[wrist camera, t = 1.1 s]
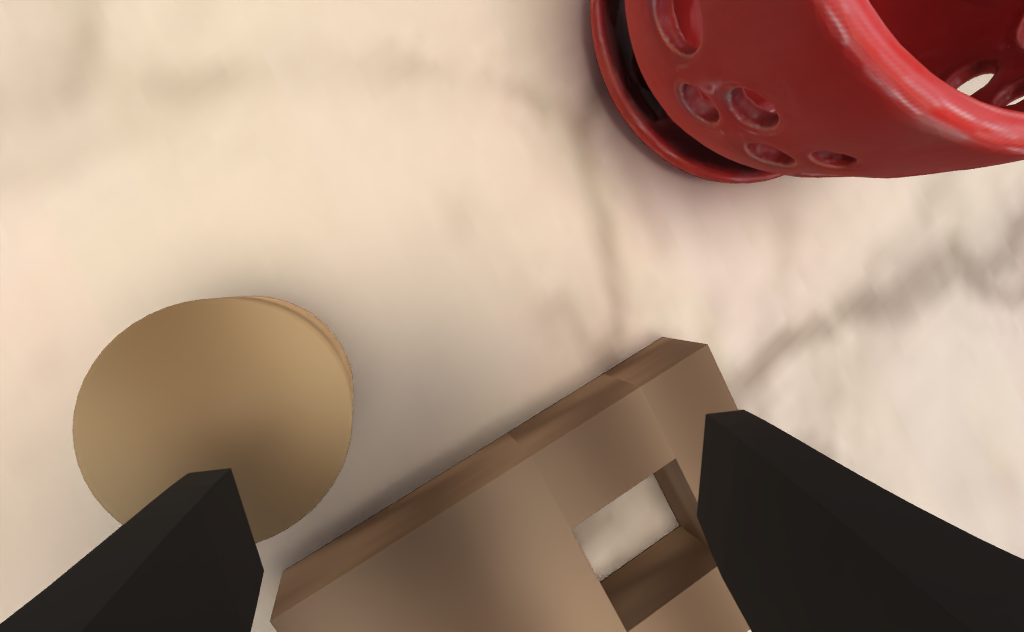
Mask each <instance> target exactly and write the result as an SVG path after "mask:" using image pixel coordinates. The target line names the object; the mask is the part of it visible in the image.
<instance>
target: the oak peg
mask: <svg viewBox="0 0 1024 632" xmlns="http://www.w3.org/2000/svg"><path fill="white" fill-rule="evenodd" d="M352 414H353V378H352V372H351V367H350V364H349V361H348V358H347V356H346V354H345V352H344V350H343V348H342V346H341V344H340V343H339V341H338V340H337V338H336V337H335V335H334V334H333V333H332V332H331V331H330V330H329V328H328V327H327V326H326V325H325V324H324V323H322V322H321V321H320V320H319V319H318V318H317V317H315V316H314V315H312V314H311V313H309V312H307V311H306V310H304V309H302V308H300V307H298V306H296V305H294V304H291V303H288V302H285V301H282V300H278V299H274V298H269V297H259V296H243V297H228V298H215V299H202V300H196V301H189V302H184V303H180V304H177V305H173V306H170V307H166V308H164V309H161V310H159V311H157V312H154V313H152V314H149V315H148V316H146V317H144V318H142V319H141V320H139V321H137V322H135V323H134V324H132V325H131V326H129V327H128V328H127V329H126V330H124V331H123V332H122V333H120V334H119V335H118V336H117V337H116V338H115V339H114V340H113V341H112V342H111V343H110V344H109V345H108V346H107V347H106V348H105V349H104V350H103V351H102V352H101V354H100V355H99V356H98V358H97V359H96V360H95V361H94V363H93V364H92V366H91V368H90V370H89V372H88V373H87V375H86V377H85V379H84V381H83V384H82V386H81V389H80V391H79V394H78V397H77V401H76V406H75V410H74V418H73V441H74V449H75V454H76V458H77V462H78V465H79V468H80V470H81V473H82V475H83V478H84V480H85V482H86V484H87V485H88V487H89V489H90V490H91V492H92V494H93V495H94V497H95V498H96V499H97V500H98V501H99V503H100V504H101V505H102V506H103V508H104V509H105V510H106V511H107V512H108V513H110V514H111V515H112V516H113V517H114V518H115V519H116V520H117V521H118V522H120V523H121V524H123V525H124V524H125V523H126V522H127V521H128V520H130V519H131V518H132V517H133V516H134V515H136V514H137V513H138V512H139V511H140V510H142V509H143V508H144V507H145V506H147V505H148V504H149V503H150V502H151V501H153V500H154V499H155V498H156V497H158V496H159V495H160V494H161V493H163V492H164V491H165V490H166V489H168V488H169V487H170V486H171V485H173V484H174V483H175V482H177V481H178V480H179V479H181V478H182V477H183V476H185V475H186V474H188V473H192V472H200V471H209V470H218V469H227V468H231V470H232V473H233V476H234V479H235V482H236V485H237V488H238V491H239V494H240V498H241V501H242V504H243V507H244V510H245V513H246V516H247V519H248V523H249V526H250V529H251V532H252V535H253V538H254V541H255V543H258V542H260V541H263V540H265V539H268V538H270V537H273V536H274V535H276V534H278V533H280V532H282V531H284V530H286V529H288V528H289V527H290V526H292V525H293V524H295V523H296V522H298V521H299V520H301V519H302V518H303V517H304V516H305V515H306V514H308V513H309V512H310V511H311V510H312V509H313V508H314V507H315V506H316V505H317V504H318V503H319V502H320V501H321V500H322V498H323V497H324V496H325V495H326V493H327V492H328V491H329V489H330V488H331V486H332V485H333V483H334V482H335V480H336V478H337V476H338V474H339V472H340V470H341V469H342V466H343V463H344V461H345V458H346V455H347V452H348V448H349V443H350V439H351V430H352Z"/></svg>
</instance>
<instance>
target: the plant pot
mask: <svg viewBox="0 0 1024 632" xmlns="http://www.w3.org/2000/svg"><path fill="white" fill-rule="evenodd" d="M590 3H591V29H592V37H593V43H594V49H595V53H596V57H597V60H598V64H599V67H600V71H601V74H602V77H603V79H604V82H605V84H606V86H607V89H608V91H609V94H610V96H611V97H612V99H613V101H614V103H615V105H616V106H617V108H618V110H619V112H620V113H621V115H622V116H623V118H624V119H625V120H626V122H627V123H628V125H629V126H630V127H631V128H632V129H633V131H634V132H635V133H636V134H637V136H638V137H639V138H640V139H641V140H642V141H643V142H644V143H645V144H646V145H647V146H648V147H650V148H651V149H652V150H653V151H654V152H655V153H657V154H658V155H659V156H661V157H662V158H663V159H665V160H666V161H668V162H669V163H671V164H672V165H674V166H676V167H678V168H680V169H682V170H684V171H685V172H687V173H690V174H692V175H695V176H697V177H700V178H704V179H707V180H712V181H717V182H724V183H754V182H761V181H766V180H770V179H774V178H777V177H780V176H783V175H789V176H796V177H816V178H819V177H868V178H899V177H909V176H918V175H927V174H935V173H942V172H949V171H957V170H968V169H975V168H981V167H987V166H994V165H1000V164H1005V163H1010V162H1015V161H1020V160H1024V99H1023V100H1022V101H1020V102H1018V103H1016V104H1013V105H1008V104H1009V103H1011V102H1012V101H1014V100H1016V99H1018V98H1021V97H1023V96H1024V0H591V2H590ZM983 74H994V76H993V77H992V79H991V80H990V81H989V82H988V83H987V84H986V85H985V86H984V87H983V88H981V89H979V90H978V91H977V92H975V93H974V94H972V95H971V96H968V95H966V94H964V93H962V92H960V91H958V90H957V88H958V87H960V86H961V85H962V84H964V83H965V82H967V81H969V80H970V79H972V78H974V77H977V76H980V75H983ZM1006 105H1008V106H1006Z"/></svg>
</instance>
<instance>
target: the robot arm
mask: <svg viewBox="0 0 1024 632" xmlns="http://www.w3.org/2000/svg"><path fill="white" fill-rule="evenodd" d="M697 518H698V520H699V523H700V526H701V528H702V531H703V533H704V536H705V538H706V541H707V543H708V546H709V548H710V551H711V553H712V555H713V558H714V560H715V562H716V565H717V567H718V569H719V572H720V574H721V577H722V578H723V580H724V582H725V584H726V586H727V588H728V590H729V591H730V593H731V595H732V597H733V599H734V600H735V602H736V604H737V606H738V608H739V609H740V611H741V613H742V615H743V617H744V618H745V620H746V622H747V624H748V626H749V628H750V629H751V631H752V632H1024V559H1021V558H1019V557H1017V556H1015V555H1013V554H1010V553H1008V552H1006V551H1004V550H1002V549H1000V548H998V547H996V546H994V545H992V544H990V543H987V542H985V541H983V540H981V539H979V538H977V537H975V536H973V535H971V534H969V533H967V532H965V531H963V530H961V529H959V528H957V527H956V526H954V525H952V524H950V523H948V522H946V521H944V520H942V519H940V518H938V517H936V516H934V515H932V514H930V513H928V512H926V511H924V510H922V509H920V508H918V507H917V506H915V505H913V504H911V503H909V502H907V501H905V500H904V499H902V498H900V497H898V496H896V495H894V494H893V493H891V492H889V491H887V490H885V489H883V488H882V487H880V486H878V485H876V484H874V483H873V482H871V481H869V480H867V479H865V478H864V477H862V476H860V475H858V474H857V473H855V472H853V471H851V470H850V469H848V468H846V467H844V466H843V465H841V464H839V463H837V462H836V461H834V460H832V459H830V458H829V457H827V456H825V455H824V454H822V453H820V452H818V451H817V450H815V449H813V448H812V447H810V446H808V445H806V444H805V443H803V442H801V441H800V440H798V439H796V438H794V437H793V436H791V435H789V434H787V433H786V432H784V431H782V430H780V429H779V428H777V427H775V426H774V425H772V424H770V423H768V422H766V421H765V420H763V419H761V418H759V417H757V416H755V415H753V414H751V413H749V412H747V411H745V410H736V411H728V412H719V413H710V414H706V417H705V428H704V439H703V451H702V462H701V473H700V484H699V495H698V506H697ZM263 573H264V569H263V566H262V563H261V560H260V557H259V554H258V551H257V548H256V544H255V541H254V538H253V535H252V532H251V529H250V526H249V523H248V519H247V516H246V513H245V510H244V507H243V504H242V501H241V498H240V494H239V491H238V488H237V485H236V482H235V479H234V476H233V473H232V470H231V468H227V469H218V470H209V471H200V472H192V473H188V474H186V475H185V476H183V477H182V478H181V479H179V480H178V481H177V482H175V483H174V484H173V485H171V486H170V487H169V488H168V489H166V490H165V491H164V492H163V493H161V494H160V495H159V496H158V497H156V498H155V499H154V500H153V501H151V502H150V503H149V504H148V505H147V506H145V507H144V508H143V509H142V510H140V511H139V512H138V513H137V514H136V515H134V516H133V517H132V518H131V519H130V520H128V521H127V522H126V523H125V524H124V525H122V526H121V527H120V528H119V529H118V530H116V531H115V532H114V533H113V534H112V535H110V536H109V537H108V538H107V539H106V540H104V541H103V542H102V543H101V544H100V545H98V546H97V547H96V548H95V549H93V550H92V551H91V552H90V553H89V554H87V555H86V556H85V557H84V558H83V559H81V560H80V561H79V562H78V563H76V564H75V565H74V566H73V567H72V568H70V569H69V570H68V571H67V572H66V573H64V574H63V575H62V576H61V577H59V578H58V579H57V580H56V581H55V582H53V583H52V584H51V585H50V586H48V587H47V588H46V589H45V590H43V591H42V592H41V593H40V594H38V595H37V596H36V597H34V598H33V599H32V600H31V601H29V602H28V603H27V604H25V605H24V606H23V607H22V608H20V609H19V610H18V611H16V612H15V613H14V614H13V615H11V616H10V617H9V618H7V619H6V620H5V621H4V622H2V623H1V624H0V632H251V627H252V623H253V619H254V615H255V611H256V606H257V601H258V597H259V592H260V587H261V582H262V577H263Z"/></svg>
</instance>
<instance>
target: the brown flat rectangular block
mask: <svg viewBox="0 0 1024 632" xmlns="http://www.w3.org/2000/svg"><path fill="white" fill-rule="evenodd" d="M736 410H738V409H737V407H736V404H735V402H734V400H733V398H732V396H731V394H730V392H729V389H728V387H727V385H726V383H725V381H724V379H723V377H722V374H721V372H720V370H719V368H718V366H717V364H716V362H715V359H714V357H713V355H712V353H711V351H710V349H709V346H708V344H702V343H696V342H690V341H684V340H678V339H671V338H665V337H662V338H661V339H659V340H657V341H656V342H654V343H653V344H651V345H649V346H648V347H646V348H644V349H643V350H641V351H640V352H638V353H636V354H635V355H633V356H631V357H630V358H628V359H627V360H625V361H623V362H622V363H620V364H619V365H617V366H615V367H614V368H612V369H610V370H609V371H607V372H606V373H604V374H602V375H601V376H599V377H597V378H596V379H594V380H593V381H591V382H589V383H588V384H586V385H585V386H583V387H581V388H580V389H578V390H576V391H575V392H573V393H572V394H570V395H568V396H567V397H565V398H563V399H562V400H560V401H559V402H557V403H555V404H554V405H552V406H550V407H549V408H547V409H546V410H544V411H542V412H541V413H539V414H538V415H536V416H534V417H533V418H531V419H529V420H528V421H526V422H525V423H523V424H521V425H520V426H518V427H516V428H515V429H513V430H512V431H510V432H508V433H507V434H505V435H504V436H502V437H500V438H499V439H497V440H495V441H494V442H492V443H491V444H489V445H487V446H486V447H484V448H482V449H481V450H479V451H478V452H476V453H474V454H473V455H471V456H469V457H468V458H466V459H465V460H463V461H461V462H460V463H458V464H457V465H455V466H453V467H452V468H450V469H448V470H447V471H445V472H444V473H442V474H440V475H439V476H437V477H435V478H434V479H432V480H431V481H429V482H427V483H426V484H424V485H423V486H421V487H419V488H418V489H416V490H414V491H413V492H411V493H410V494H408V495H406V496H405V497H403V498H401V499H400V500H398V501H397V502H395V503H393V504H392V505H390V506H388V507H387V508H385V509H384V510H382V511H380V512H379V513H377V514H376V515H374V516H372V517H371V518H369V519H367V520H366V521H364V522H363V523H361V524H359V525H358V526H356V527H354V528H353V529H351V530H350V531H348V532H346V533H345V534H343V535H342V536H340V537H338V538H337V539H335V540H333V541H332V542H330V543H329V544H327V545H325V546H324V547H322V548H320V549H319V550H317V551H316V552H314V553H312V554H311V555H309V556H307V557H306V558H304V559H303V560H301V561H299V562H298V563H296V564H295V565H293V566H291V567H290V568H288V569H286V570H285V571H283V574H282V577H281V581H280V585H279V589H278V593H277V596H276V600H275V604H274V608H273V612H272V615H271V619H270V622H271V624H272V625H273V627H274V628H275V630H276V631H277V632H747V631H748V630H750V628H749V626H748V624H747V622H746V620H745V618H744V617H743V615H742V613H741V611H740V609H739V608H738V606H737V604H736V602H735V600H734V599H733V597H732V595H731V593H730V591H729V590H728V588H727V586H726V584H725V582H724V580H723V578H722V577H721V574H720V572H719V569H718V567H717V565H716V562H715V560H714V558H713V555H712V553H711V551H710V548H709V546H708V543H707V541H706V538H705V536H704V533H703V531H702V528H701V526H700V523H699V520H698V518H697V506H698V495H699V484H700V473H701V462H702V451H703V439H704V428H705V417H706V414H710V413H719V412H728V411H736ZM653 473H654V475H655V477H656V479H657V481H658V483H659V485H660V487H661V489H662V491H663V493H664V495H665V497H666V499H667V501H668V503H669V505H670V507H671V509H672V511H673V513H674V515H675V517H676V519H677V521H678V523H679V525H680V527H678V528H677V529H675V530H674V531H672V532H671V533H670V534H668V535H667V536H665V537H664V538H663V539H661V540H660V541H658V542H657V543H655V544H654V545H653V546H651V547H650V548H648V549H647V550H646V551H644V552H643V553H641V554H640V555H638V556H637V557H636V558H634V559H633V560H631V561H630V562H629V563H627V564H626V565H624V566H623V567H621V568H620V569H619V570H617V571H616V572H614V573H613V574H612V575H610V576H609V577H607V578H606V579H604V580H603V581H602V582H599V580H598V578H597V576H596V574H595V573H594V571H593V569H592V567H591V565H590V563H589V561H588V560H587V558H586V556H585V554H584V552H583V550H582V549H581V547H580V545H579V543H578V541H577V539H576V538H575V536H574V534H573V532H572V530H571V529H572V528H573V527H575V526H576V525H578V524H579V523H581V522H582V521H583V520H585V519H586V518H588V517H589V516H591V515H592V514H594V513H595V512H597V511H598V510H600V509H601V508H603V507H604V506H606V505H607V504H609V503H610V502H612V501H613V500H615V499H616V498H618V497H619V496H621V495H622V494H624V493H625V492H626V491H628V490H629V489H631V488H632V487H634V486H635V485H637V484H638V483H640V482H641V481H643V480H644V479H646V478H647V477H649V476H650V475H652V474H653Z"/></svg>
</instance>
